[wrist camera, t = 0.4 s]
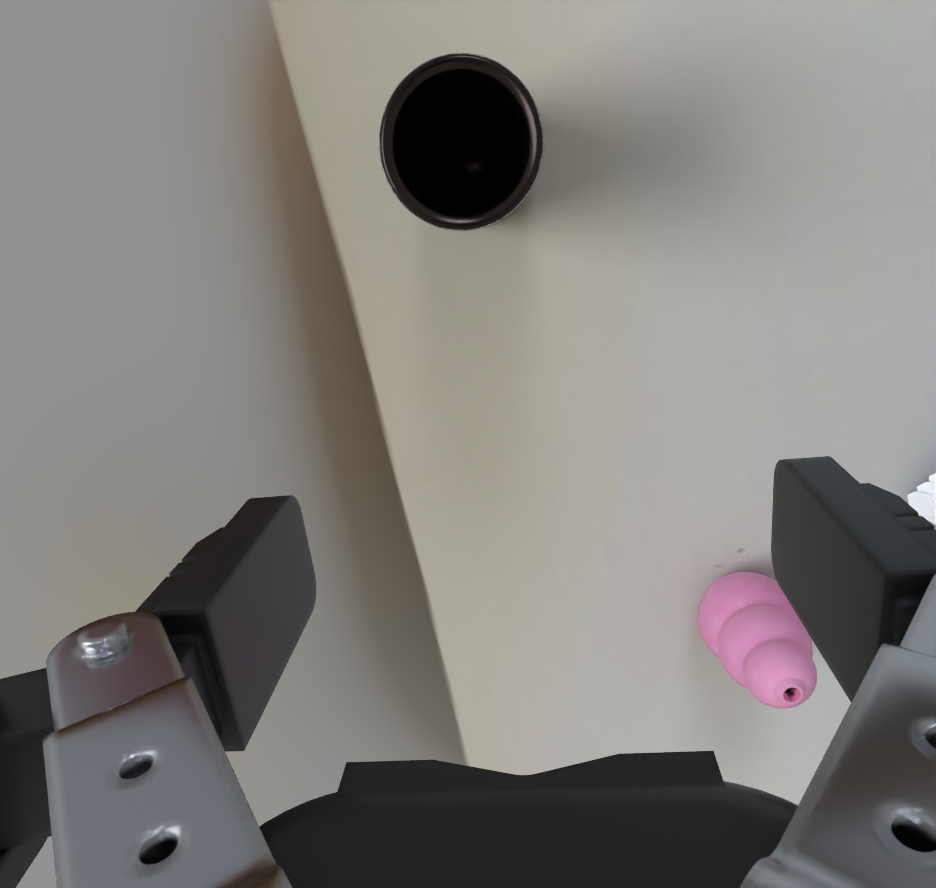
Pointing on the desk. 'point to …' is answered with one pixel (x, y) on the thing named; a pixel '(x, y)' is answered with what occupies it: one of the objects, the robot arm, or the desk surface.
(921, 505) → the pincushion
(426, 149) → the planter
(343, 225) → the desk surface
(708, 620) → the dog chew toy
